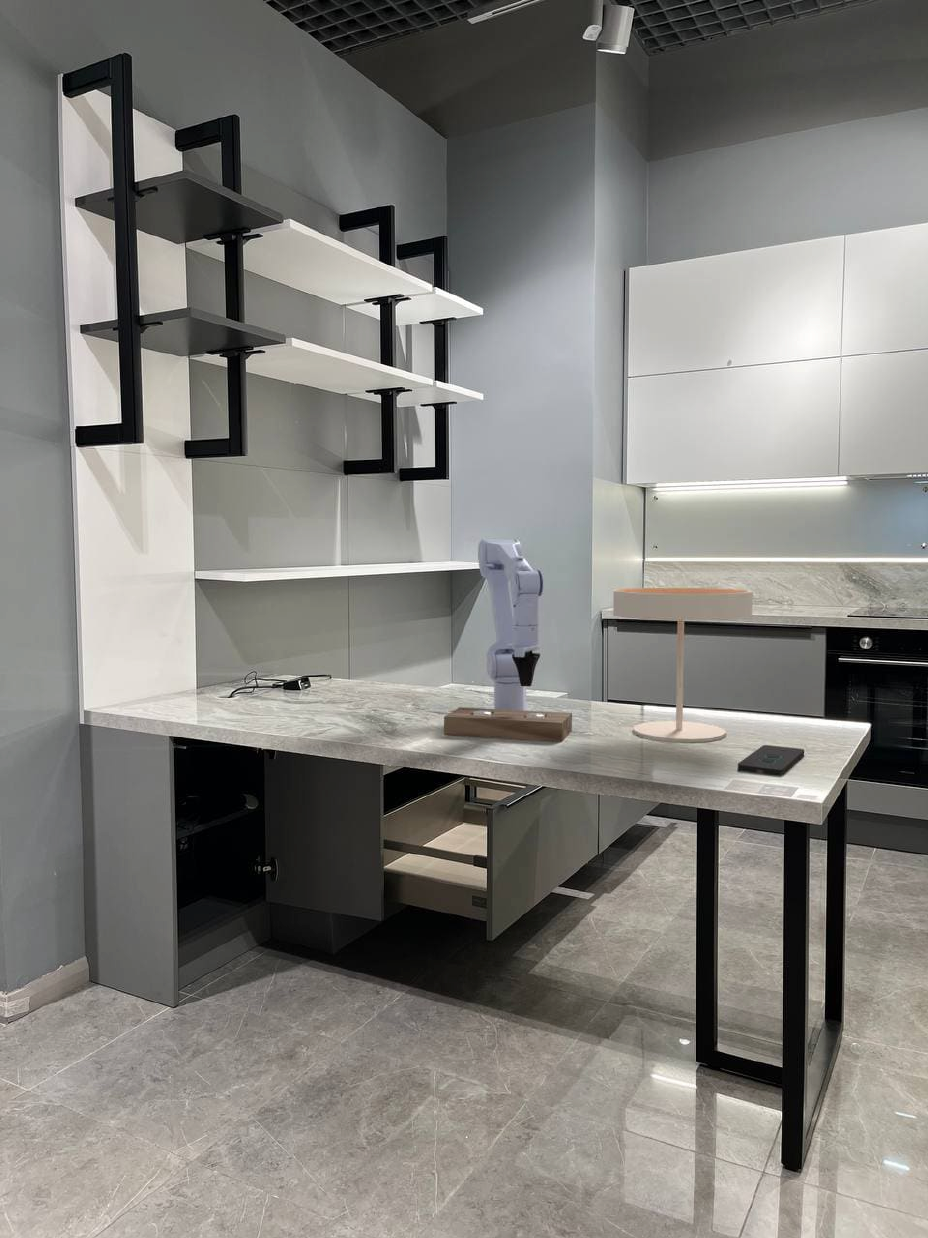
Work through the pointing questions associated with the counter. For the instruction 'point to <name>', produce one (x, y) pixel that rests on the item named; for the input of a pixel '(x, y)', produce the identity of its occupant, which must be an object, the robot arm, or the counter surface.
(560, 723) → the wooden peg board
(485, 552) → the robot arm
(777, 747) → the smart home device
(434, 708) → the counter surface
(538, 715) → the peg
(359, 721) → the counter surface
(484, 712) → the peg
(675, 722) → the desk lamp
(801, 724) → the counter surface
